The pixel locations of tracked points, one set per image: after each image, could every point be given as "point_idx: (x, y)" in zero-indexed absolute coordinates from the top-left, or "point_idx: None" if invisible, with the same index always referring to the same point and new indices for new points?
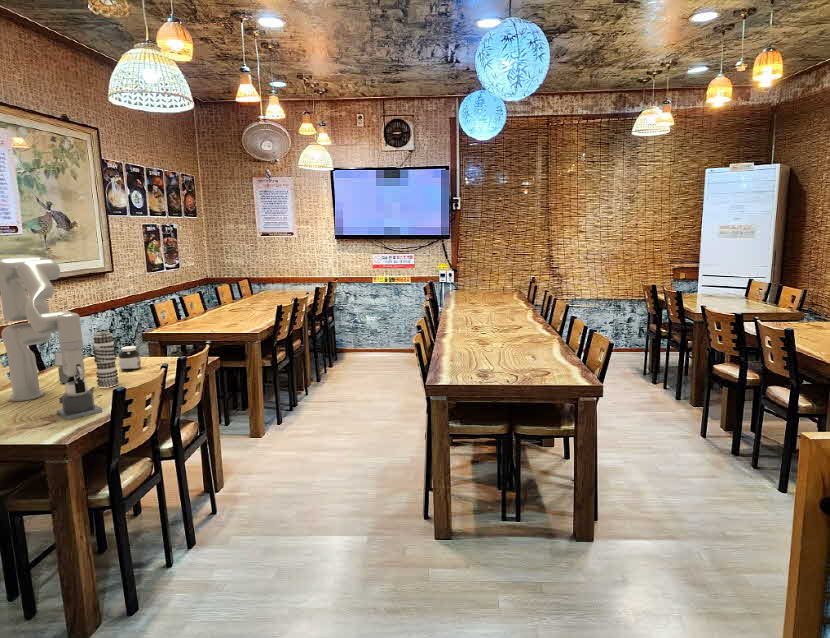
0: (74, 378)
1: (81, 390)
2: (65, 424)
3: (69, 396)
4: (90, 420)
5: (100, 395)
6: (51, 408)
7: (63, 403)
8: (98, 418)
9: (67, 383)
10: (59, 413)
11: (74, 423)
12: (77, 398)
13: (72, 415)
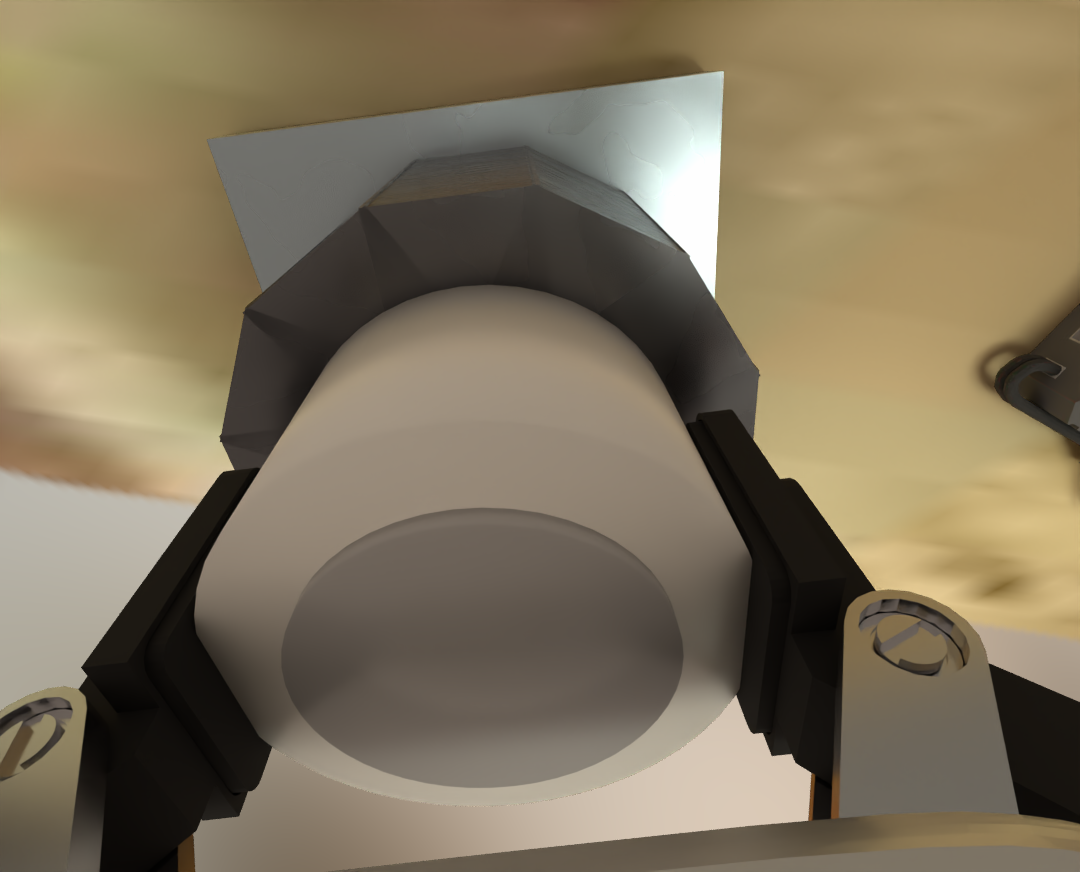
0: (53, 856)
1: None
2: (3, 63)
3: (371, 324)
4: (63, 362)
5: (996, 586)
6: (1072, 55)
7: (462, 173)
8: (109, 439)
9: (593, 495)
10: (582, 88)
11: (4, 183)
12: (232, 416)
13: (238, 218)
